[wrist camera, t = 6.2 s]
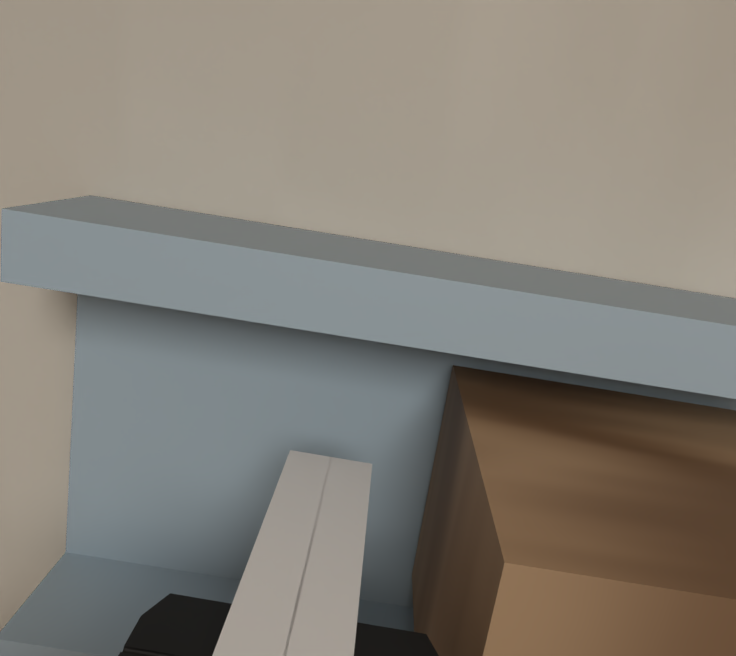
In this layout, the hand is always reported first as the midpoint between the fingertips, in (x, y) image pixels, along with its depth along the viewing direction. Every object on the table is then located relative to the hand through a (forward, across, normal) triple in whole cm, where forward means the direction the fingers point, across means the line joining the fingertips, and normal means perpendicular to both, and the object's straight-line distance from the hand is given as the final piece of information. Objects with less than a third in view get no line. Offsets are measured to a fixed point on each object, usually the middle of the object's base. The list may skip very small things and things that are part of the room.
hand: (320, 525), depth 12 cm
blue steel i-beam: (+3, +2, 0) cm, 4 cm away
